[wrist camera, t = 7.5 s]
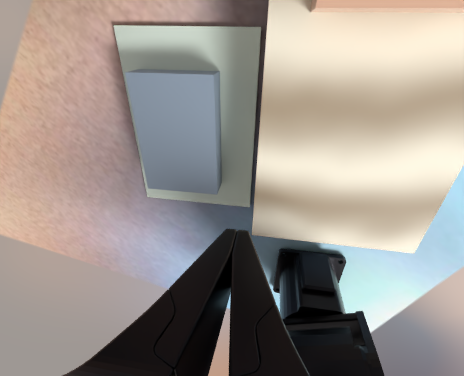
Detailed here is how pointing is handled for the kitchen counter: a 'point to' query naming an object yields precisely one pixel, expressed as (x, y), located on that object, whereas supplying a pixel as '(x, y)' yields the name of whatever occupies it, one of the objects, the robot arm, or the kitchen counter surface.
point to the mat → (231, 91)
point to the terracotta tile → (388, 6)
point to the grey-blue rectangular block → (178, 128)
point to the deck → (358, 125)
